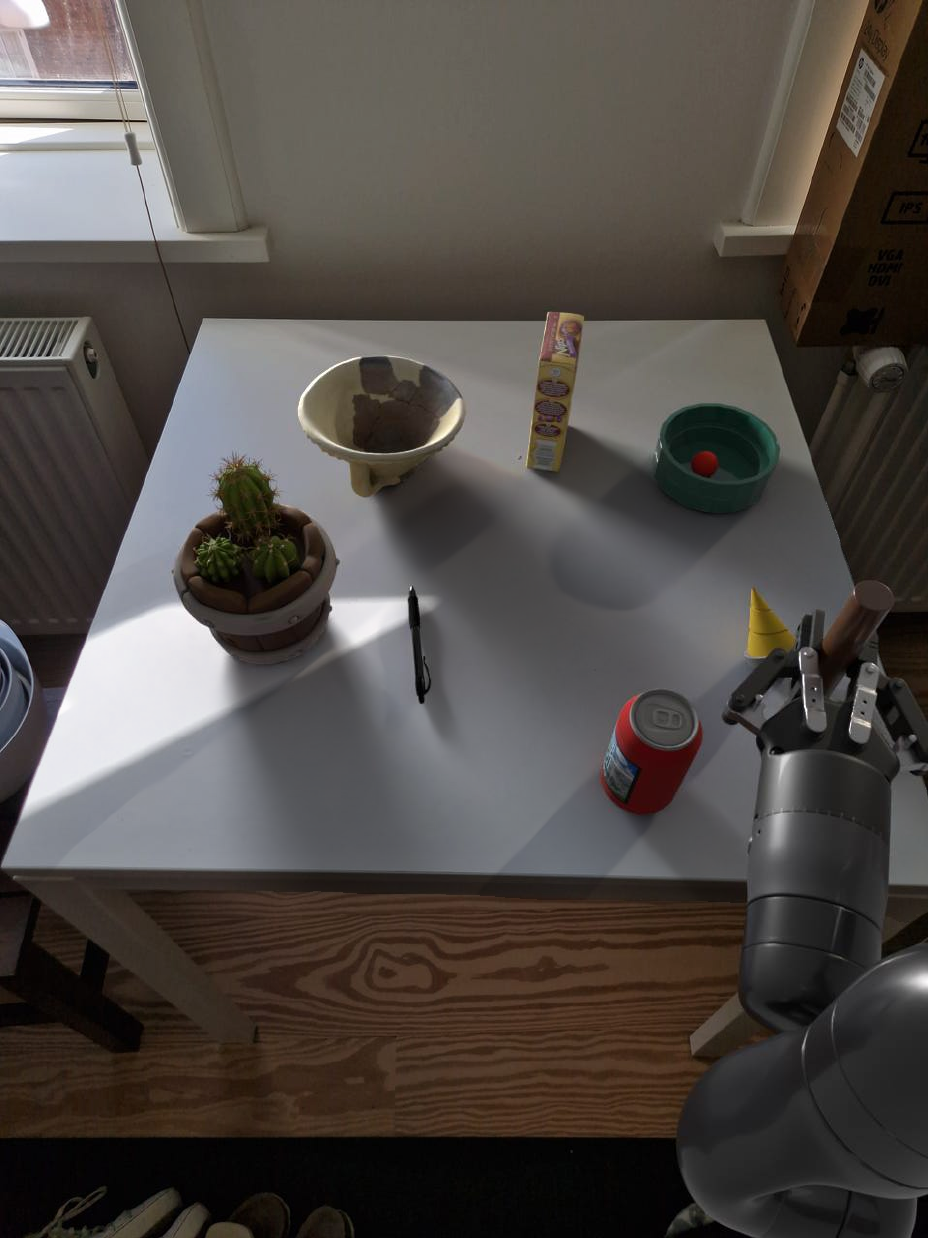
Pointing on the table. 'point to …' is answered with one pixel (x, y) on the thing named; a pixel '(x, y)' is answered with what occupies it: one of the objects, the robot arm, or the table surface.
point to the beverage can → (651, 751)
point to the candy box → (554, 390)
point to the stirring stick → (852, 631)
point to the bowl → (381, 417)
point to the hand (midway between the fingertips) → (836, 622)
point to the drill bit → (765, 632)
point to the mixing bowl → (735, 443)
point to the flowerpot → (257, 570)
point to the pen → (417, 647)
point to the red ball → (704, 464)
